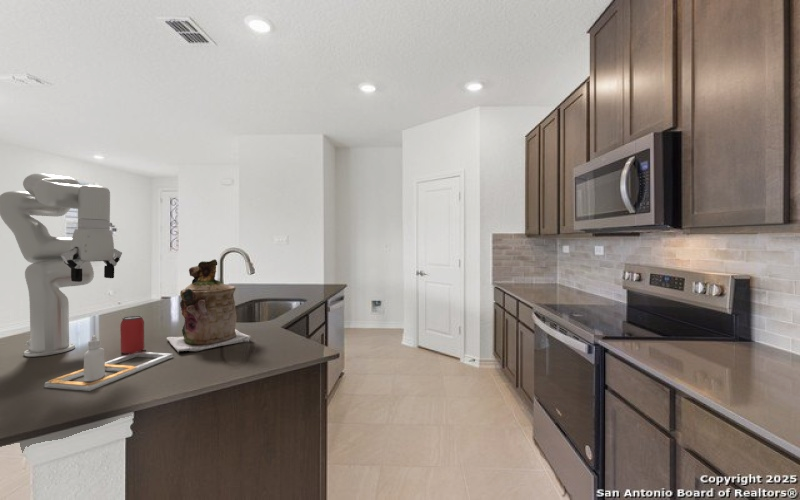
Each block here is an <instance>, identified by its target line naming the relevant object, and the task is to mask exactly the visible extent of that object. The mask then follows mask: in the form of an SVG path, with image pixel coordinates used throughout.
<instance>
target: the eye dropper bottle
mask: <svg viewBox="0 0 800 500" xmlns="http://www.w3.org/2000/svg"><path fill="white" fill-rule="evenodd" d="M87 348H88V349H87V351H86V352H84V355H83V369H84V375H83V382H86V383H92V382H94V381H97V380H99V379H102V378H104V376H105V375H106V371H105V362H106V360H105V358H106V357H105V354H106V353H105V349H104V348H103V347H101V339H98V338H97V336H96V335H92V337H91V339H90V340H89V341H88V347H87Z"/></svg>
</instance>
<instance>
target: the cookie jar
mask: <svg viewBox="0 0 800 500" xmlns="http://www.w3.org/2000/svg"><path fill="white" fill-rule="evenodd" d="M217 266H218V260H217V259H215V258H213V259H211V260H208V261H203V260H202V261H200V262H199V263H198V265H196V266H191V267H189V269H188V273H189V276H190V277H193V279H192V280H191V283H190V284H189V285H188V286H186V287H185V289H184V288H183V289H181V290H180V291H179V292H180V293H179V294H180V298H181V300H180V303H179V307H180V308H181V309H180V311H181V315H182V316H183V318H184V324H183V327H182V329H181V332H182V336H168V337H166V340H167V341H168V342H169V344H170V345H171V346H172V347H173V348H174V349H175V350H176V351H177V353H180V352H184V351H185V352H187V351H189V352H199V351H204V350H208V349H212V348H213V349H214V348H219V347H222V346H228V345H232V344H233V345H234V344H239V343H245V342H247V343H249V342H250V338H251V337H252V336H251V335H248V334H246V333H243V332H240V331H239V330H238V329H236V325H237V319H238V318H237V317H238V316H237V313H236V302H235V297H234V293H235V291H236V286H234V285H227V284H226V283H223V282H222V281H220V280H217V279H216V278H215V277H216V274H217Z"/></svg>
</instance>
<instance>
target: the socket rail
mask: <svg viewBox="0 0 800 500" xmlns="http://www.w3.org/2000/svg"><path fill="white" fill-rule="evenodd" d="M137 357H139V358H152V359H151V360H149V361H146V362H143V363H140V364H138V365H136V366H134V365H127V364H126V365H125V364H119V363H123V362H125V361H128V360H132V359H133V358H137ZM172 358H174V353H169V352H152V351H140V352H134V353H131V354H125V355H122V356H119V357H116V358H114V359H110V360H108V361H105V372H115V373H113V374H112V373H111V374H110V375H108V376H105V377H102V378H100V379H98V380H95V381H91V382H85V381H74V380H75V379H77V378H80V377H81V378H82V377H84V368H82V369H79V370H76V371H73V372H70V373H67V374H63V375H61V376H58V377H55V378H52V379H49V380H47V381H45V382H44V388H49V389H51V388H52V389H59V390H60V389H61V390H62V389H63V390H73V391H74V390H75V391H85V392H90V391H93V390H96V389H98V388H100V387H102V386H106V385H108V384H110V383H113V382H115V381H118V380H121V379H123V378H126V377H128V376H130V375H133V374H135V373H137V372H140V371H144V370H146V369H147V368H150V367H153V366H155V365H158V364H160V363H163V362H165V361H167V360H170V359H172ZM72 380H73V381H72Z"/></svg>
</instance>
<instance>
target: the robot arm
mask: <svg viewBox="0 0 800 500" xmlns="http://www.w3.org/2000/svg"><path fill="white" fill-rule="evenodd" d="M22 185H23V188H24V190H25V191H23V190H11V191H5V192H3V193H1V194H0V218H1V220H2V221H3V222H4V224H5V225H6V226H7V227H8V229H9V230H10V231H11V232H12V233H13V236H14V237H15V240H16V243H17V244H18V247H19V250H20V252H21V254H22V257H23V258H24V259H25V261H27V262H28V263H31V264H29V265H28V266H26V268H25V271H24V279H25V281H26V286H27V290H28V297H29V299H28V300H29V333H30V334H29V335H30V336H29V337H30V339H28V340H27V341H25V342H24V345H25V346H28V349H27V350H24V351H23V356H25V357H36V358H37V357H45V356H52V355H57V354H63V353H66V352H69V351H71V350H73V349H75V348H76V344H75V343H73V342H70V321H69V320H70V317H69V316H70V308H69V307H70V305H69V298H68V297H67V295H66V294H65V293H64V292H62V291H61V290H60V288H66V287H79V286H84V285H88V284H90V283H91V282H92V281H93V279H94V277H95V271H94V267H93V265H92V262H93V263H94V262H103V263H104V264H105V265H104V267H103V268H104V269H103V270H104V271H103V277H104V278H105V279H114V278H115V267H116V266H117V265H118V262H119V261H120V260H121V259H120V258H121V257H122V255H123V252H122V251H120V250H118V249H116V248H115V244H114V237H113V232H112V230H111V229H110V228H111V227H113V223H112V222H110V220H111V217H110V216H111V191H110V189H109V188H108V187H104V186H101V185H92V184H91V185H90V184H85V185H84V184H82V185H81V184H80V182H79V181H78V180H77V179H75V178H73V177H70V176H63V175H55V174H48V173H32V174H29V175H27V176H26V177H25V178H24V179H23V181H22ZM71 209H74V210H75V209H76V210H77V229H74V230H73V234H72V237H65V236H63V237H60V236H52V235H50V233H49V230H48V228H47V227H46V226H45V225H44V223H42V222H41V221H40V220H38V219H36V218H34V217H32V216H37V217H38V216H42V217H62V216H64V215H65V216H66V214H67V213H68V212H69V211H70V210H71Z"/></svg>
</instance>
